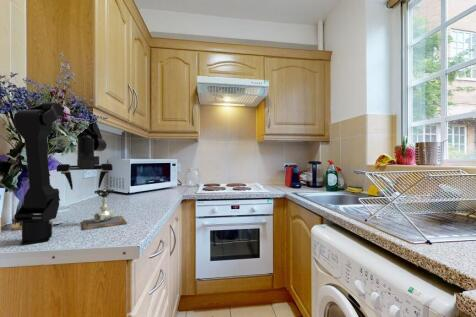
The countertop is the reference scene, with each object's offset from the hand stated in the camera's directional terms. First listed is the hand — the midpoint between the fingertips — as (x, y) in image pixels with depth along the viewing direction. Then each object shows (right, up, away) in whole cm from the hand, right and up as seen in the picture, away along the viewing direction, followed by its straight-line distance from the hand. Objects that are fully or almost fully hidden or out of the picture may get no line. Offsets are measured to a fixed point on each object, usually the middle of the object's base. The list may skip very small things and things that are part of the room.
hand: (85, 188), depth 97 cm
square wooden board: (+9, -13, -3) cm, 16 cm away
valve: (+9, -12, -3) cm, 16 cm away
